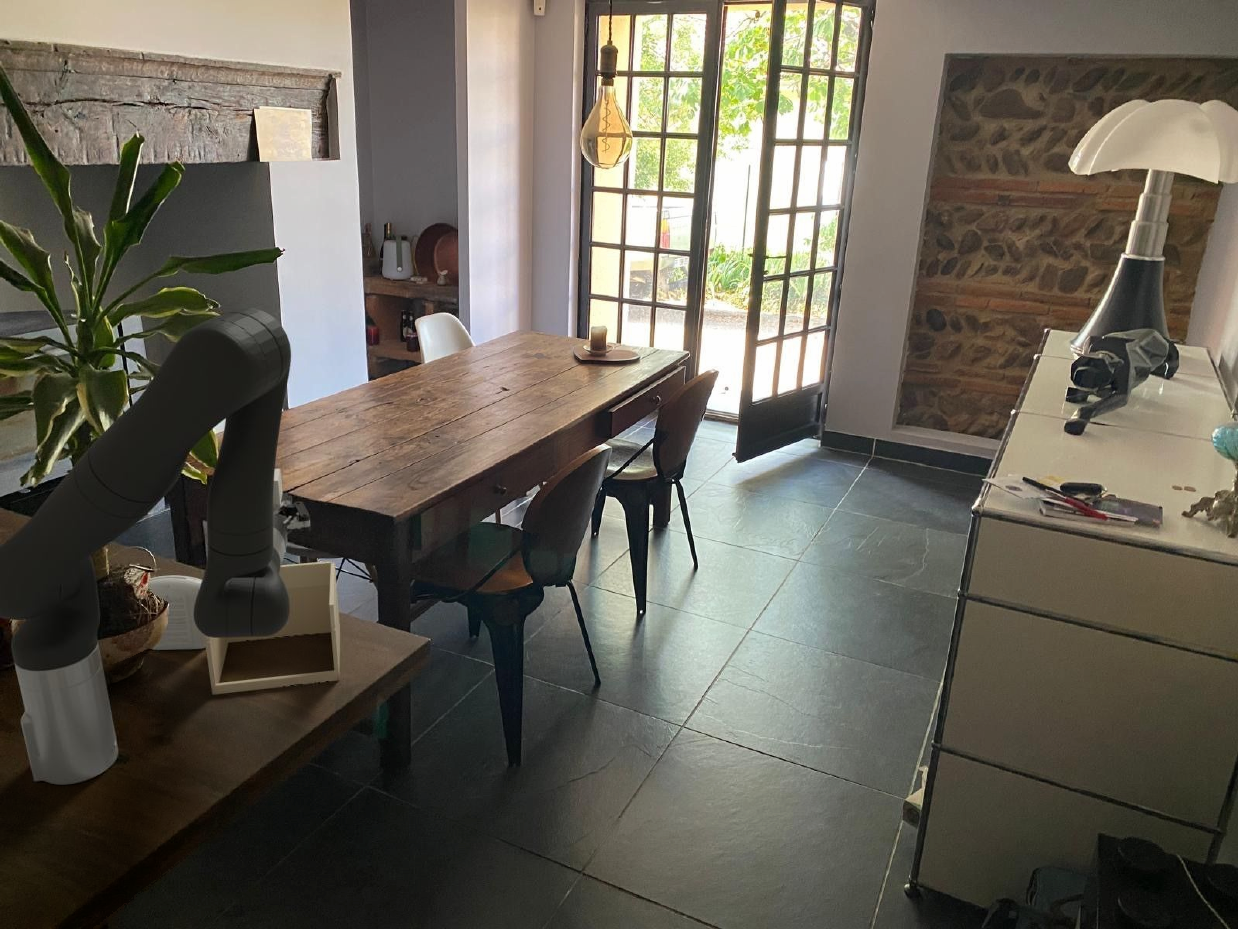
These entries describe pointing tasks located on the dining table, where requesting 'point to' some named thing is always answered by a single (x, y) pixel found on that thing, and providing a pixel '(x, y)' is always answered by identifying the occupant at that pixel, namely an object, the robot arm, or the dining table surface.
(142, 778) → the dining table surface
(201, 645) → the photo printer
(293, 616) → the storage bin
